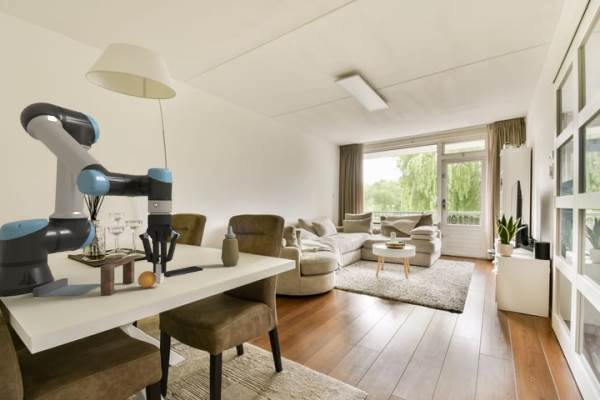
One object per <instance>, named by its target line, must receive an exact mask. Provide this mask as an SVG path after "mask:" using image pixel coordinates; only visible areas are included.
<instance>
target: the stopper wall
mask: <svg viewBox="0 0 600 400" xmlns="http://www.w3.org/2000/svg"><path fill="white" fill-rule="evenodd" d="M68 282H69V279H68V278H66V277H65V278H60V279H57V280H54V282H51V283H48V284H45V285H42V286H40V287H37V288H34V289H33V292H32V298H36V297H37V298H39V297H40V296H41V295H44V294H46V293H49V292H52V291H54V290H57V289H59V288H62V287H64V286H67V285H69V283H68Z"/></svg>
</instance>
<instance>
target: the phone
mask: <svg viewBox="0 0 600 400" xmlns="http://www.w3.org/2000/svg"><path fill="white" fill-rule="evenodd" d="M203 270H204V268H203V267H200V266H196V265H193V266H188V267H184V268H183V267H182V268H177V269H171V270H166V272H165V273H164V277H167V278H173V277H177V276H181V275H182V276H183V275H186V274H187V275H188V274H192V273H197V272H200V271H203Z"/></svg>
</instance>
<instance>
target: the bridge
mask: <svg viewBox="0 0 600 400" xmlns="http://www.w3.org/2000/svg"><path fill="white" fill-rule="evenodd" d="M120 266H122V285H130V284H131V285H132V284H134V283H135V256H125V257H122V258H120V259H117V260H114V261H111V262H108V263H105V264H103V265H100V284H101V286H100V296H104V297H105V296H111V295H113V294H115V269H116V268H119V267H120Z"/></svg>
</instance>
